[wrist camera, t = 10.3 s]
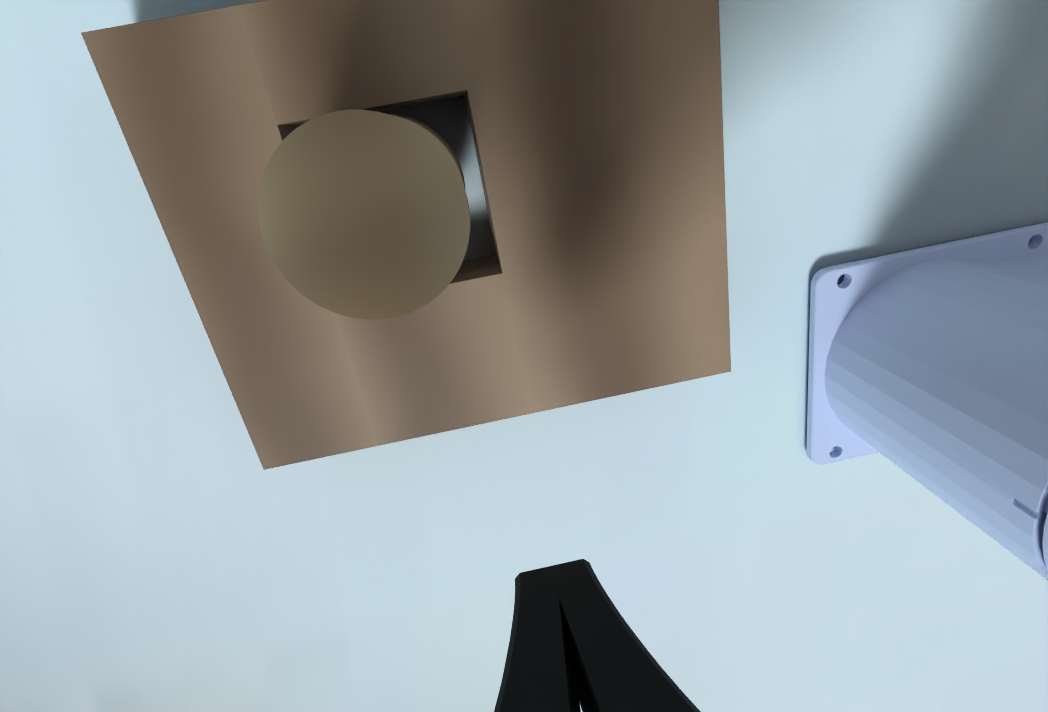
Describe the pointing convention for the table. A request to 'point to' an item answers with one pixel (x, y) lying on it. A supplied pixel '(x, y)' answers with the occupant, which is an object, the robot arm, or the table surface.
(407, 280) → the peg
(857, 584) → the table surface
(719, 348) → the board
